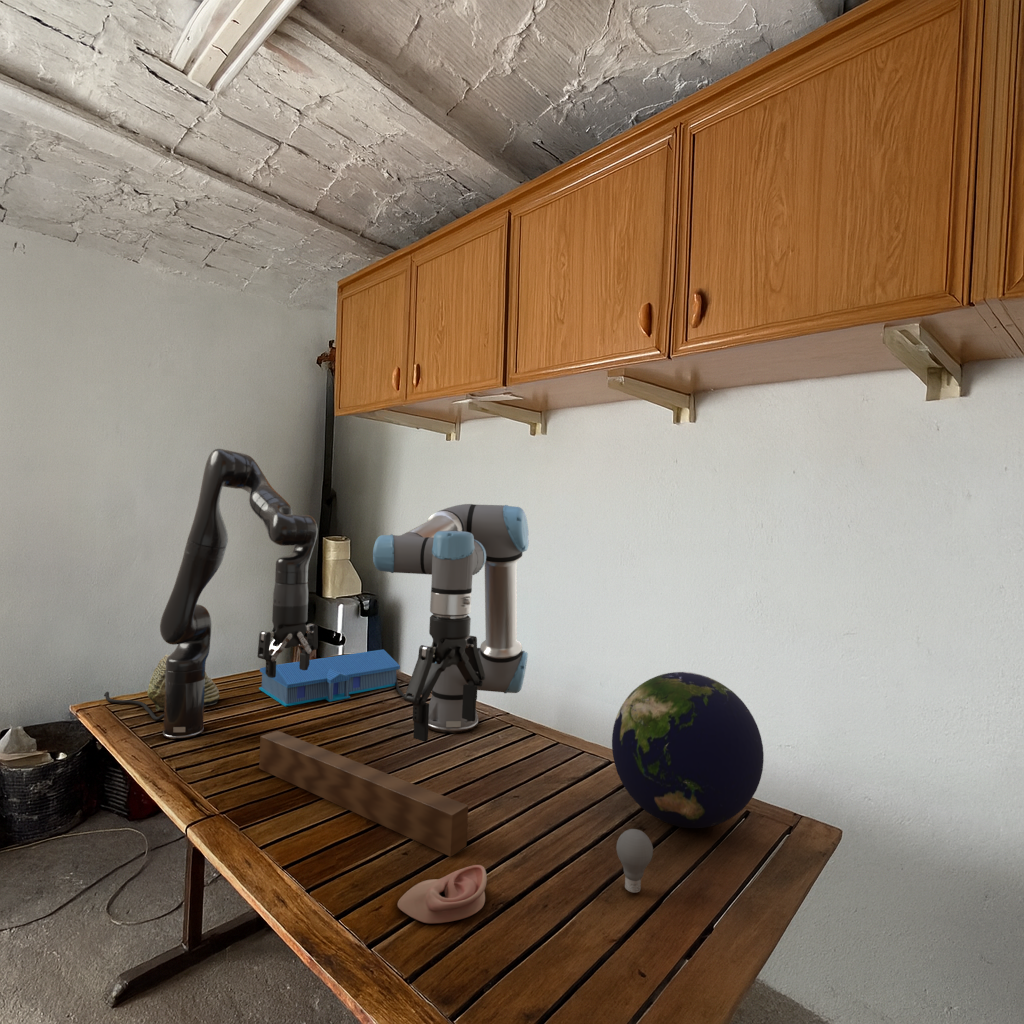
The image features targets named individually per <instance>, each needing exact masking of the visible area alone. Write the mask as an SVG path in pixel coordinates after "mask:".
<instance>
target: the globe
mask: <svg viewBox="0 0 1024 1024" xmlns="http://www.w3.org/2000/svg"><path fill="white" fill-rule="evenodd" d="M611 749H612V750H611V751H612V757H613V762H614V767H615V769H616V772H617V776H618V777H619V780H620V782H621V783H622V785H623V787H624V789H625V790H626V792H627V793H628V795H629V796H630V797H631V798H632V800H633V801H634V802H635V803H636V804H637V805H638V806H639V807H641V809H643V810H644V811H645V812H646V813H648V814H649V815H651V816H652V817H654V818H655V819H656V820H657V819H658V820H659V821H661V822H664V823H666V824H668V825H671V826H674V827H678V828H684V829H706V828H710V827H714V826H717V825H720V824H723V823H725V822H727V821H728V820H729V821H730V819H733V817H735V816H737V815H738V814H739V813H740V812H742V810H744V809H745V807H746V806H747V805H748V804H749V802H750V801H751V800H752V798H753V797H754V795H755V793H756V792H757V789H758V787H759V786H760V782H761V779H762V775H763V771H764V762H765V760H764V758H765V756H764V755H765V754H764V745H763V739H762V735H761V732H760V729H759V726H758V723H757V722H756V720H755V718H754V716H753V714H752V713H751V711H750V709H749V708H748V707H747V704H745V702H744V701H743V699H741V698H740V697H739V696H738V695H737V693H735V692H734V691H733V690H731V689H730V688H729V687H727V686H726V685H724V684H723V683H722V682H720V681H717V680H716V679H714V678H711V677H709V676H707V675H703V674H699V673H695V672H690V671H674V672H667V673H662V674H659V675H656V676H654V677H652V678H649V679H647V680H646V681H644V682H643V683H641V684H639V685H638V686H637V687H636V688H635V689H633V690H632V691H631V692H630V693H629V695H628V696H627V697H626V698H625V699H624V701H623V703H622V704H621V706H620V708H619V710H618V712H617V713H616V717H615V720H614V723H613V728H612V735H611Z"/></svg>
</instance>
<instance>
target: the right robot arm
mask: <svg viewBox="0 0 1024 1024" xmlns="http://www.w3.org/2000/svg"><path fill="white" fill-rule="evenodd" d="M529 541H530V540H529V524H528V519H527V515H526V512H525V511H524V509H523V508H522V507H519V506H512V505H508V504H504V505H503V504H499V505H498V504H473V503H464V504H457V505H453V506H450V507H446V508H444V509H441V510H438V511H436V512H434V513H432V514H431V515H430V516H429V517H428V518H427V520H426V522H423V523H422V524H420V525H418V526H416V527H414V528H412V529H410V530H409V531H406V532H404V533H402V534H400V535H395V534H392V533H391V534H381V535H379V536H378V537H377V538H376V539H375V542H374V545H373V548H372V549H373V550H372V561H373V565H374V567H375V569H376V570H378V571H379V572H385V573H391V574H394V573H395V574H412V575H413V574H415V575H416V574H417V575H428V576H429V575H430V576H431V586H430V587H431V589H430V600H429V601H430V603H429V612H430V613H431V615H430V617H429V626H428V627H429V628H428V632H429V635H430V637H431V638H432V643H431V645H423V644H422V645H420V646H419V648H418V655H417V660H416V663H415V666H414V668H413V670H412V671H413V672H412V673H411V677H410V680H409V682H408V685H407V689H406V691H405V693H404V692H403V691H402V690H401V689H400V686H399V681H398V680H399V679H398V676H397V675H396V683H395V685H396V686H395V689H396V691H397V693H398V694H399V695H400V696H401V697H402V698H403V700H404V702H408V703H411V704H412V722H413V734H412V735H413V739H415V740H418V741H421V742H424V743H425V742H428V740H429V730H430V731H434V732H437V733H443V734H461V733H467V732H470V731H473V730H474V729H476V728H478V726H479V715H478V711H477V700H478V691H483V692H493V693H503V694H518V693H519V692H520V691H522V687H523V684H524V680H525V674H526V670H527V664H528V657H529V653H528V651H525V650H523V644H522V643H521V641H520V640H518V639H517V638H518V637H517V634H518V633H517V631H518V630H517V629H518V627H517V623H518V622H517V619H518V618H517V617H518V616H517V615H518V613H517V611H518V609H517V608H518V602H517V601H518V599H517V597H518V596H517V594H518V591H517V589H518V585H517V584H518V581H517V580H518V579H517V578H518V575H517V573H518V572H517V571H518V569H517V568H518V567H517V566H518V561H520V560H521V559H522V558H523V553H525V552H527V551H528V549H529V544H530V543H529ZM483 567H484V615H485V617H484V621H485V625H484V627H485V640H483V641H482V642H481V644H480V647H478V637H477V636H476V635H471V622H472V621H471V619H472V618H471V617H470V616H469V615H470V614H471V613H472V591H473V576H475V575H477V574H479V572H480V571H481V570H482V569H483ZM430 695H431V698H430V701H429V703H428V702H427V701H428V699H429V697H430Z"/></svg>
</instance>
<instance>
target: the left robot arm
mask: <svg viewBox="0 0 1024 1024" xmlns="http://www.w3.org/2000/svg"><path fill="white" fill-rule="evenodd" d="M201 480H202V481H201V486H200V491H199V496H198V500H197V501H198V502H197V506H196V510H195V513H194V517H193V521H192V523H191V527H190V530H189V533H188V535H187V536H188V537H187V539H186V543H185V547H184V551H183V556H182V558H181V559H182V560H181V563H180V566H179V569H178V572H177V575H176V579H175V581H174V582H175V583H174V585H173V588H172V591H171V593H170V595H169V598H168V601H167V603H166V605H165V608H164V610H163V613H162V615H161V618H160V623H159V632H160V636H161V638H162V641H164V642H165V643H166V644H168V645H173V646H174V645H175V646H176V647H175V649H174V650H173V652H172V653H170V654H169V655H170V656H169V657H168V658H167V660H166V674H165V705H164V710H163V713H162V714H160V715H159V716H157V715H156V714H155V713H154V711H153V710H152V709H151V708H150V707H149V706H148V704H146V703H145V702H143V701H140V700H133V699H113V698H111V697H110V692H109V691H105V693H104V695H103V697H105V700H106V701H107V702H109V703H111V704H125V705H126V704H127V705H129V704H130V705H137V706H140V707H142V708H143V709H144V710H145V711H146V712H147V713H148V715H149V716H150V717H151V719H152V720H154V721H157V722H159V721H161V720H162V719H163V731H162V737H164V738H166V739H169V740H185V739H190V738H191V739H192V738H194V737H197V736H199V735H202V734H203V732H204V730H205V729H204V722H205V721H204V718H205V706H204V693H205V672H206V664H207V663H206V662H207V658H208V657H209V654H210V649H211V639H212V617H211V614H210V612H209V610H208V609H207V608H206V607H205V606H203V605H201V604H198V601H199V598H200V596H201V594H202V592H203V591H204V589H205V588H206V586H207V585H208V584H209V583H210V581H211V580H212V579H213V577H214V576H215V575H216V573H217V572H218V570H219V569H220V567H221V565H222V564H223V563H222V562H223V560H224V558H225V555H226V554H225V553H226V551H227V547H228V543H229V533H228V530H227V526H226V524H225V521H224V519H223V516H222V512H221V508H220V501H221V495H222V489H223V487H225V488H230V489H238V490H239V489H241V490H243V491H245V492H247V493H249V495H248V497H249V498H248V503H249V506H250V508H251V510H252V512H253V513H254V514H255V516H257V517H258V519H260V520H261V521H262V522H263V525H264V528H265V529H266V533H267V536H268V538H269V540H270V541H271V542H272V543H274V544H275V545H278V546H282V547H286V546H288V547H289V546H293V547H292V551H291V552H290V553H288V554H285V555H283V556H280V557H278V558H277V559H276V561H275V571H274V587H273V592H272V593H273V594H272V617H271V621H272V625H273V627H272V630H270V631H265V630H260V631H259V634H258V645H257V646H258V648H257V658H258V659H260V660H261V659H262V660H264V661H265V667H266V671H265V673H266V675H267V676H268V677H270V678H274V677H276V665H277V658H278V657H279V655H280V654H281V653H283V652H284V650H285V649H290V648H292V647H294V648H295V647H297V648H298V649H299V651H300V653H299V661H300V665H299V668H300V669H301V670H307V669H308V667H309V662H310V661H309V660H311V659H310V658H311V653H312V652H313V651H317V650H318V648H319V630H318V629H319V628H318V627H319V626H318V625H317V624H315V623H309V622H308V615H309V614H308V613H309V612H308V609H309V581H308V579H309V564H310V560H311V557H312V554H313V551H314V547H315V544H316V541H317V539H318V538H317V537H318V533H319V532H318V531H319V530H318V524H317V521H316V520H315V519H314V517H313V516H312V515H310V514H294V513H293V509H292V506H291V504H289V502H288V501H287V500H286V499H285V498H284V497H283V496H282V495H281V494H279V493H278V491H276V490H275V489H274V488H273V486H272V485H271V483H270V482H269V481H268V479H267V478H266V476H265V474H264V473H263V471H262V469H261V468H260V466H259V464H258V463H257V462H256V460H255V459H254V458H253V457H252V456H250V455H249V454H247V453H242V452H238V451H232V450H229V449H223V448H214V449H213V450H212V451H211V452H210V454H209V455H208V457H207V459H206V462H205V465H204V470H203V475H202V479H201ZM306 623H307V624H306ZM305 635H306V638H305Z"/></svg>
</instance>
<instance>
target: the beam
mask: <svg viewBox="0 0 1024 1024" xmlns="http://www.w3.org/2000/svg"><path fill="white" fill-rule="evenodd" d="M258 764H259V765H258V766H259V767H258V769H259V770H261V771H263V772H265V773H267V774H270V775H271V776H274V777H276V778H279V779H281V780H283V781H284V782H287V783H289V784H291V785H294V786H296V787H298V788H299V789H302V790H305V791H306V792H309V793H311V794H313V795H315V796H317V797H319V798H322V799H324V800H326V801H328V802H330V803H332V804H335V805H337V806H339V807H341V808H343V809H346V810H348V811H349V812H352V813H354V814H357V815H359V816H361V817H362V818H365V819H367V820H369V821H371V822H374V823H376V824H378V825H380V826H382V827H385V828H387V829H389V830H391V831H393V832H396V833H398V834H400V835H402V836H403V837H406V838H409V839H411V840H413V841H415V842H417V843H419V844H422V845H424V846H426V847H428V848H430V849H432V850H435V851H437V852H439V853H441V854H443V855H445V856H447V857H452V856H454V855H455V854H457V853H458V852H460V851H461V850H463V849H465V848H466V847H467V844H468V843H467V842H468V821H469V805H468V804H465V803H463V802H460V801H458V800H455V799H453V798H450V797H448V796H445V795H442V794H440V793H437V792H435V791H433V790H430V789H428V788H425V787H423V786H419V785H417V784H415V783H412V782H410V781H407V780H404V779H402V778H399V777H397V776H394V775H393V774H392V775H391V774H389V773H387V772H384V771H382V770H379V769H377V768H374V767H371V766H369V765H366V764H363V763H361V762H359V761H356V760H354V759H351V758H348V757H346V756H343V755H340V754H338V753H336V752H333V751H331V750H328V749H325V748H323V747H321V746H318V745H315V744H313V743H310V742H307V741H306V740H303V739H300V738H298V737H295V736H292V735H290V734H288V733H285V732H282V731H280V730H275V731H272V732H269V733H266V734H262V735H260V738H259V763H258Z"/></svg>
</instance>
